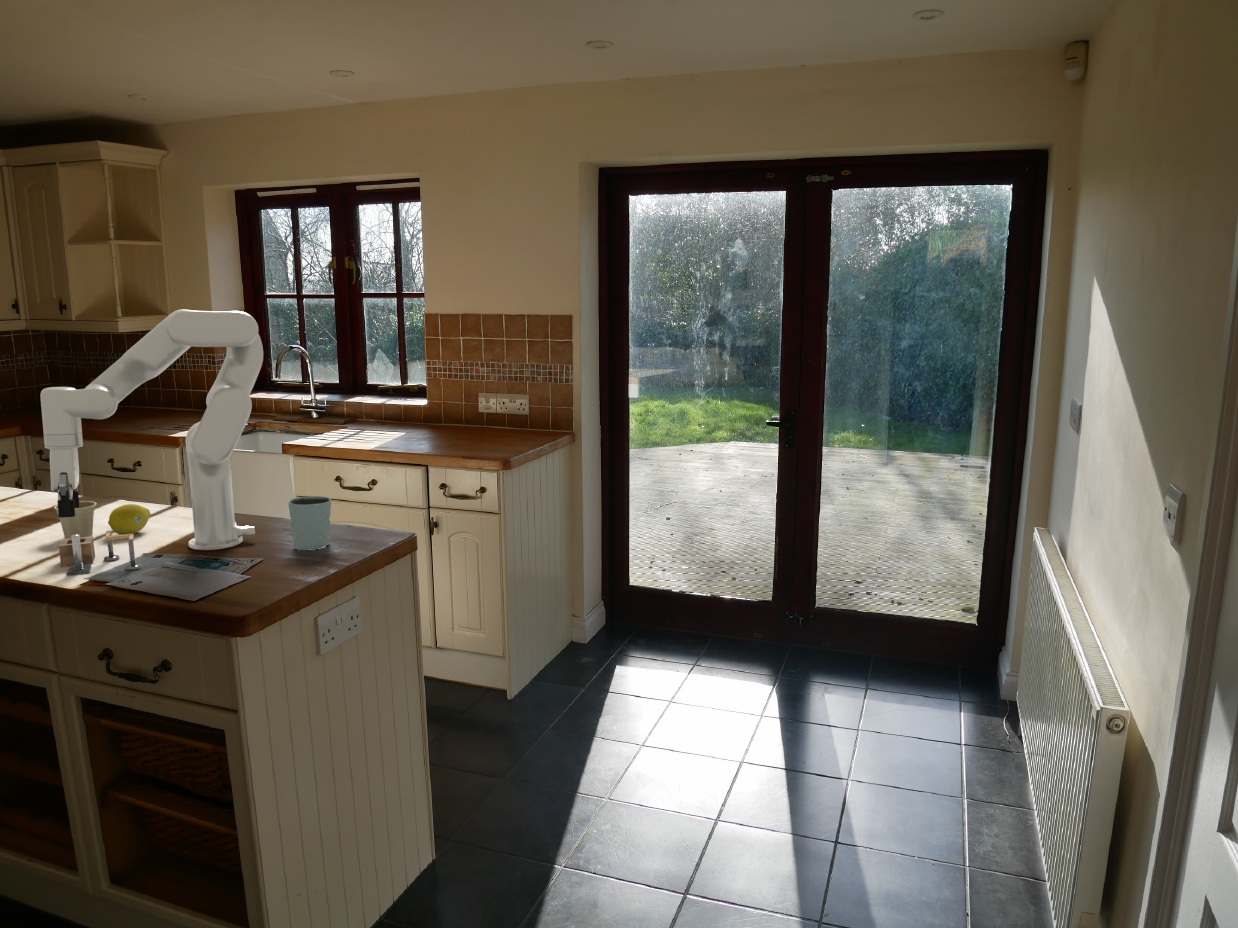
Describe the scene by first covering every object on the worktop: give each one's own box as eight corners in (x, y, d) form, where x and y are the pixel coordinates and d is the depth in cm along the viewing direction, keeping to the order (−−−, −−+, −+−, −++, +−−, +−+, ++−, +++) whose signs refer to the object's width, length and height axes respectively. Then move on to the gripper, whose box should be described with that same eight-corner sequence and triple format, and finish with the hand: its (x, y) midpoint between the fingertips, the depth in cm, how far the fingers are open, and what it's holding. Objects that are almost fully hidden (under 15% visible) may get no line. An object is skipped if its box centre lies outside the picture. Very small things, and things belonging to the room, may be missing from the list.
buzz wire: (114, 556, 211) (111, 528, 210) (151, 565, 205) (148, 536, 204) (93, 562, 207) (90, 533, 206) (131, 571, 201) (128, 541, 199)
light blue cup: (282, 547, 220) (279, 501, 218) (313, 538, 229) (310, 493, 226) (311, 553, 215) (308, 506, 213) (341, 543, 224) (339, 498, 222)
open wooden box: (95, 556, 212) (92, 536, 211) (92, 563, 206) (90, 542, 205) (64, 559, 209) (61, 539, 208) (61, 566, 203) (58, 546, 202)
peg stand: (91, 567, 203) (87, 531, 201) (89, 572, 199) (85, 536, 198) (69, 569, 201) (65, 533, 199) (67, 575, 197) (62, 538, 196)
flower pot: (108, 532, 232) (104, 501, 231) (83, 542, 223) (79, 509, 222) (75, 531, 233) (71, 500, 232) (49, 541, 224) (45, 508, 222)
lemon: (115, 540, 225) (112, 510, 224) (103, 535, 230) (99, 505, 229) (158, 532, 233) (155, 503, 232) (146, 527, 238) (143, 498, 237)
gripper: (49, 435, 208) (55, 505, 211) (39, 447, 193) (45, 522, 196) (86, 434, 211) (91, 503, 214) (78, 445, 196) (84, 519, 199)
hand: (69, 512), depth 205 cm, fingers open, 9 cm apart
